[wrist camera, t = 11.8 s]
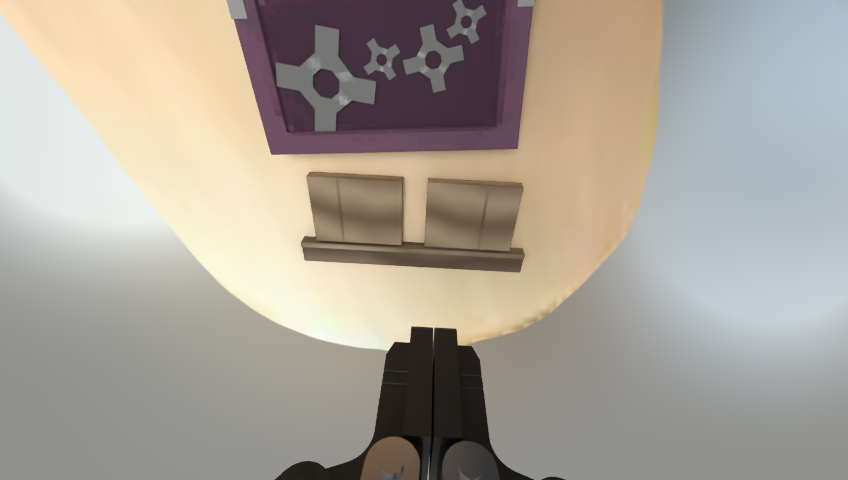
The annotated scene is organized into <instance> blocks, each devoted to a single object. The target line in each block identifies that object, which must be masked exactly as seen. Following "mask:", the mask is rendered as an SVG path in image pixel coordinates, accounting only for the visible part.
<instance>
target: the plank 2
mask: <svg viewBox="0 0 848 480" xmlns="http://www.w3.org/2000/svg"><path fill="white" fill-rule="evenodd" d="M522 191H523V186H522V184H521V183H506V182H487V181H469V180H451V179H433V178H428V189H427V208H426V226H425V245H424V246H426V247H444V248H461V249H479V250H497V251H509V250H510V246H511V241H512V237H513V232H514V228H515V223H516V218H517V214H518V209H519V205H520V200H521V196H522Z"/></svg>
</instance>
